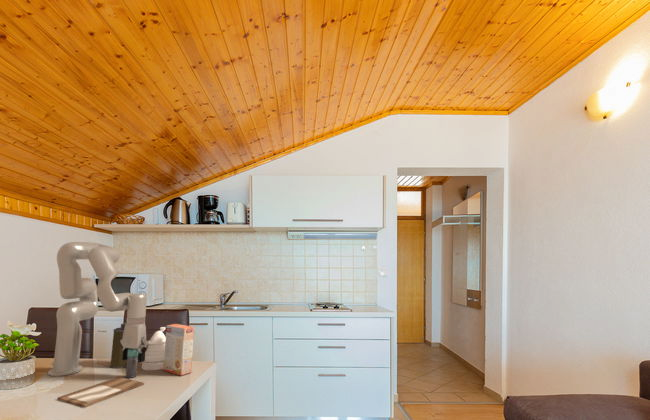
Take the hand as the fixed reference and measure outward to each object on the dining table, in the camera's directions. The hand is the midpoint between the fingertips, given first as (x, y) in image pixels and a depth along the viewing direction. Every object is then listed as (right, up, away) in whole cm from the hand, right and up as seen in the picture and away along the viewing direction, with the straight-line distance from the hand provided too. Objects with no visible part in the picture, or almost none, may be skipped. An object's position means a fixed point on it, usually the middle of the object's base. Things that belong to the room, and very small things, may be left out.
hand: (133, 360), depth 152 cm
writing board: (-2, -5, -17) cm, 18 cm away
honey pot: (+3, -9, +15) cm, 18 cm away
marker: (-1, -7, -1) cm, 7 cm away
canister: (-14, -9, +16) cm, 23 cm away
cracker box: (+17, -8, +7) cm, 20 cm away
